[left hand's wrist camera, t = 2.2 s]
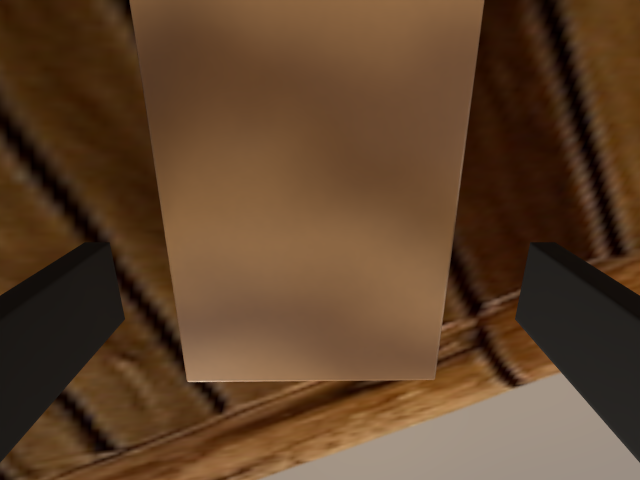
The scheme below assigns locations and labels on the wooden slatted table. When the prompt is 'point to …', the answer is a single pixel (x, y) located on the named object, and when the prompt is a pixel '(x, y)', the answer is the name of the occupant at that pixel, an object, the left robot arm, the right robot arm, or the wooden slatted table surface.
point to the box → (308, 179)
